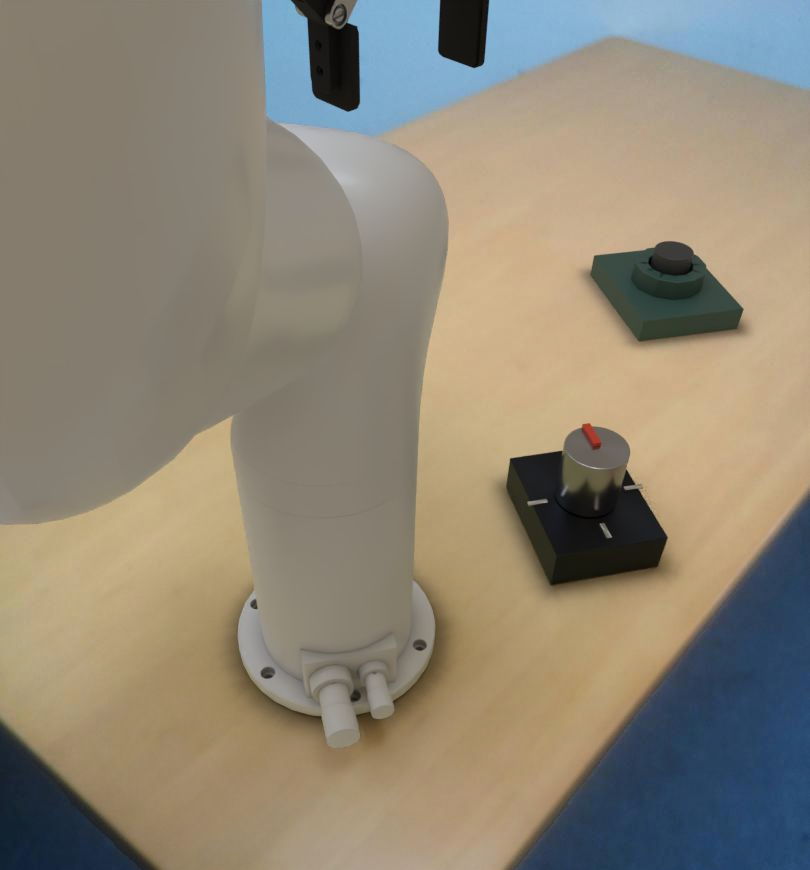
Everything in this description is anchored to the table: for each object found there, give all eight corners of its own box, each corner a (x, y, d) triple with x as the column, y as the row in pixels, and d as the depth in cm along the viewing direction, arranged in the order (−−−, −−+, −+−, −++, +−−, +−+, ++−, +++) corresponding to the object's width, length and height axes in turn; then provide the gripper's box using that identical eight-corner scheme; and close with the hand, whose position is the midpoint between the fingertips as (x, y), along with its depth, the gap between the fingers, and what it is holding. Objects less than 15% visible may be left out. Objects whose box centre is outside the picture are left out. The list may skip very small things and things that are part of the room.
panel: (662, 566, 61) (673, 535, 59) (546, 586, 60) (552, 555, 57) (607, 472, 68) (615, 440, 65) (501, 488, 66) (506, 456, 64)
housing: (737, 329, 82) (750, 291, 79) (638, 341, 80) (648, 303, 77) (680, 265, 90) (690, 228, 87) (589, 275, 88) (596, 238, 85)
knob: (627, 512, 60) (642, 460, 57) (567, 522, 60) (579, 470, 56) (603, 470, 63) (615, 418, 60) (545, 479, 63) (555, 427, 59)
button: (695, 275, 81) (700, 257, 80) (660, 279, 81) (664, 262, 79) (678, 256, 84) (683, 239, 82) (644, 259, 83) (648, 242, 82)
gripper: (306, -355, 30) (328, 145, 43) (605, -353, 39) (551, 63, 51) (182, -362, 34) (235, 101, 46) (480, -359, 42) (458, 32, 55)
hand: (401, 81), depth 49 cm, fingers open, 9 cm apart
